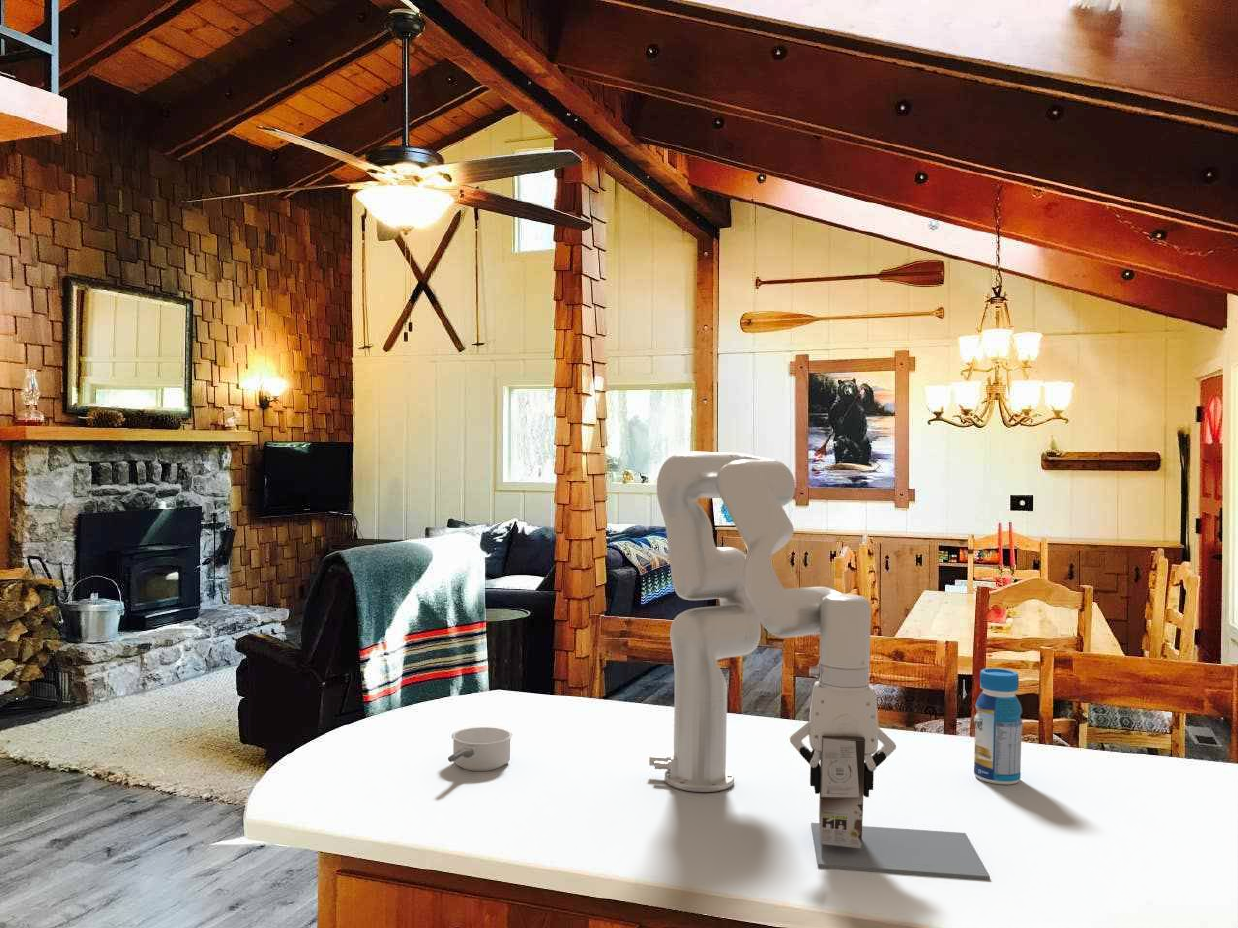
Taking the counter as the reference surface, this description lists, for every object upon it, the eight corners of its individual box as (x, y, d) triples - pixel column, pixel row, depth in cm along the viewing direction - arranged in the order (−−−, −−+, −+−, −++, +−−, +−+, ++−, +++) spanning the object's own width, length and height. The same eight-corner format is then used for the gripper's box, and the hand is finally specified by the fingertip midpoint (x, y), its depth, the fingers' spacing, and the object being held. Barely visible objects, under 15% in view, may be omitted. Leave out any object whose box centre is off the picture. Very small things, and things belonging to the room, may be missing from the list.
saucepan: (420, 785, 174) (421, 754, 174) (465, 752, 193) (466, 724, 193) (480, 792, 171) (481, 760, 171) (520, 757, 190) (520, 729, 190)
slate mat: (817, 867, 142) (818, 863, 142) (811, 825, 158) (811, 822, 158) (989, 879, 139) (989, 876, 139) (965, 835, 155) (965, 832, 155)
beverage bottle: (1016, 789, 177) (1019, 679, 177) (968, 780, 181) (970, 672, 181) (1025, 776, 184) (1027, 670, 184) (978, 767, 189) (980, 664, 188)
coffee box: (863, 849, 144) (866, 740, 144) (818, 844, 146) (821, 737, 145) (860, 826, 153) (863, 723, 153) (818, 822, 155) (821, 720, 154)
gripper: (787, 678, 147) (784, 797, 147) (906, 684, 144) (903, 805, 145) (785, 667, 154) (782, 780, 154) (898, 673, 152) (895, 787, 152)
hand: (841, 791), depth 149 cm, fingers closed on coffee box, 6 cm apart
